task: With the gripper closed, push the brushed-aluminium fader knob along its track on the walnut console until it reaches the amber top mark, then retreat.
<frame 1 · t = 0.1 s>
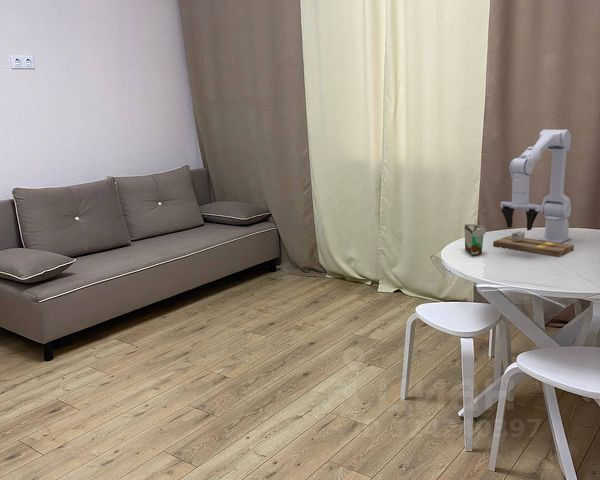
hand: (519, 228, 217), 10 cm above the table, fingers open, 7 cm apart
fader console: (532, 248, 228), on the table
fader knob: (517, 236, 231), point 4 cm above the table, slide at 0.0 cm
food container: (476, 253, 226), on the table
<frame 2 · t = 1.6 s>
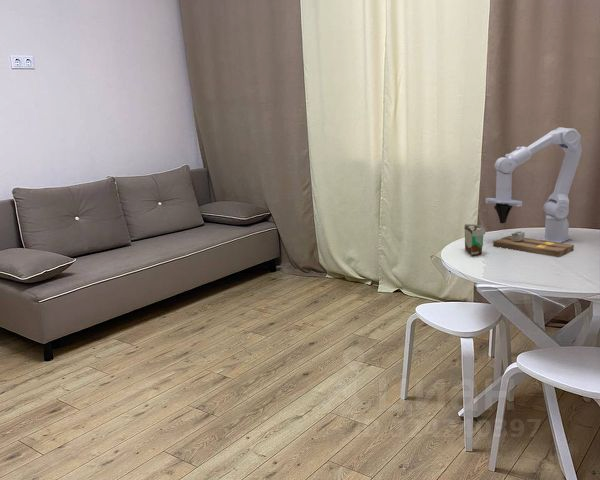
hand: (502, 222, 235), 8 cm above the table, fingers closed
nothing on the table moved.
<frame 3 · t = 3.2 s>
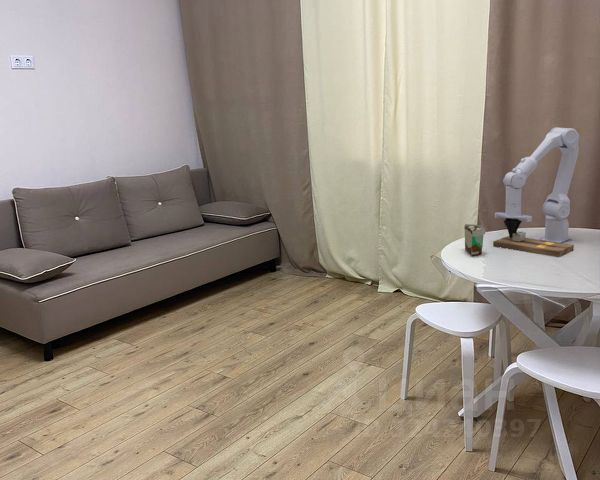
hand: (512, 237, 233), 3 cm above the table, fingers closed
fader knob: (519, 236, 231), point 4 cm above the table, slide at 0.5 cm, touching gripper
everything else where it was.
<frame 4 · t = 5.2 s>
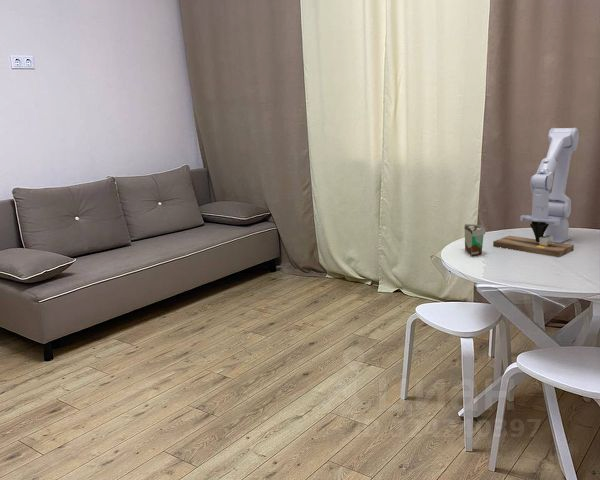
hand: (538, 241, 225), 3 cm above the table, fingers closed
fader knob: (546, 240, 223), point 4 cm above the table, slide at 11.3 cm, touching gripper
everything else where it was.
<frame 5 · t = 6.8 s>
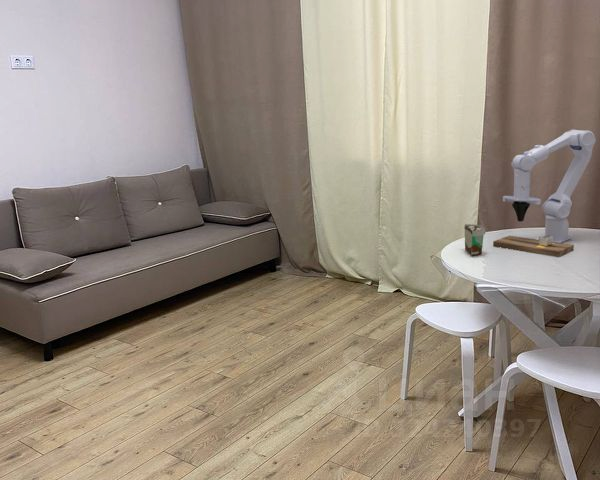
hand: (520, 221, 232), 9 cm above the table, fingers closed
fader knob: (546, 240, 223), point 4 cm above the table, slide at 11.3 cm
everything else where it was.
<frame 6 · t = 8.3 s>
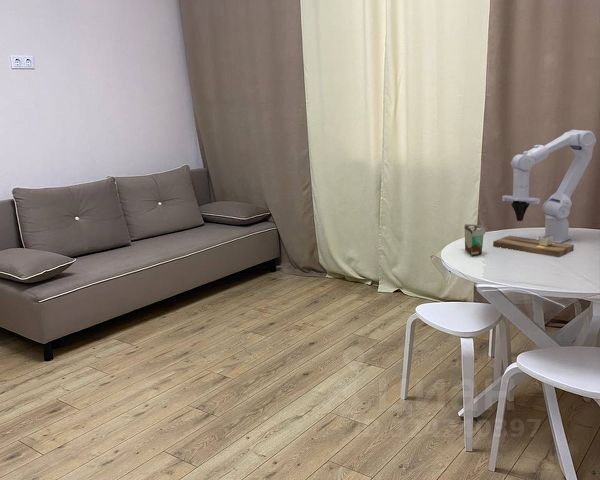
hand: (519, 220, 232), 9 cm above the table, fingers closed
nothing on the table moved.
at the end: fader knob slide at 11.3 cm; food container moved 0.2 cm from its start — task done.
